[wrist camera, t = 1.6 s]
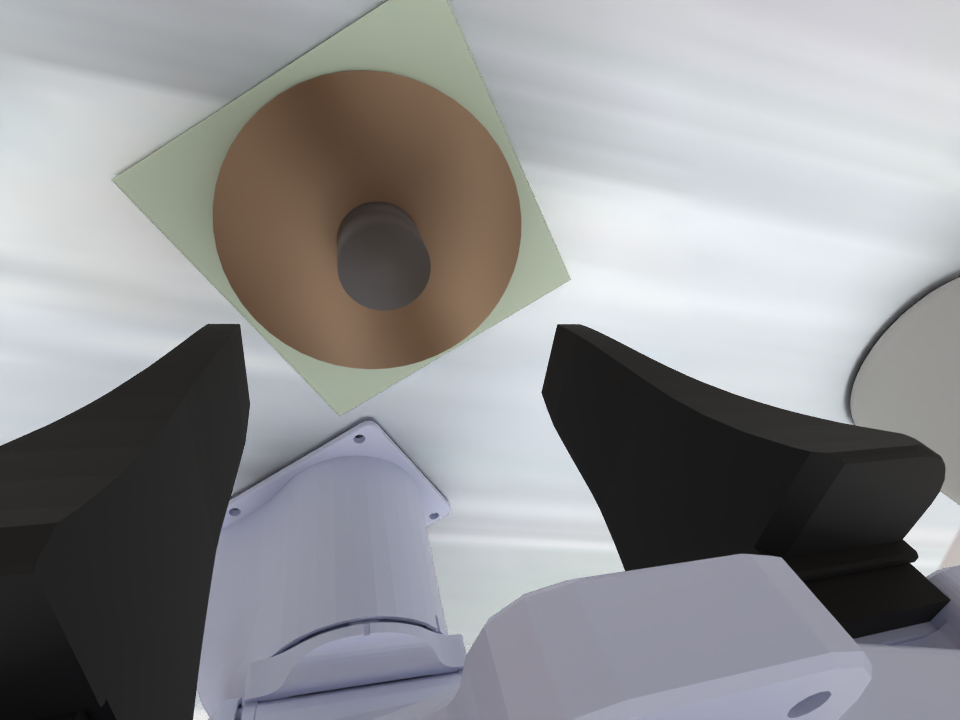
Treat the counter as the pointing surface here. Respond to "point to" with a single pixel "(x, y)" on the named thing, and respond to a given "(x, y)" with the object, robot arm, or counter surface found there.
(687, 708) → the robot arm
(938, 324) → the cylinder vase
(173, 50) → the counter surface
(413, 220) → the walnut lid
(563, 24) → the counter surface
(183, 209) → the sage mat
